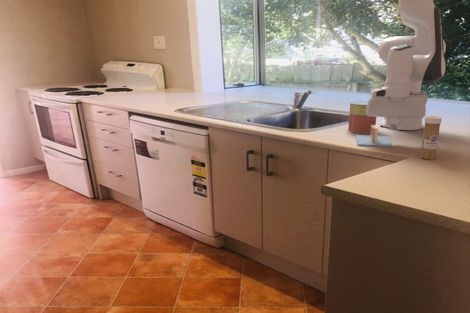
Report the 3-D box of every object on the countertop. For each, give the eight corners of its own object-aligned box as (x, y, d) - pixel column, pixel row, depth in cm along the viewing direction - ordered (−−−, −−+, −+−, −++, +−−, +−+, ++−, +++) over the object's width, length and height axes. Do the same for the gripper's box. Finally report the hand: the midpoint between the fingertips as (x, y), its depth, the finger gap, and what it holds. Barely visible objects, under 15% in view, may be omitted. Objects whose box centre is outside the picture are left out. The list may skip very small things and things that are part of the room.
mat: (355, 136, 150) (355, 134, 150) (387, 137, 147) (387, 136, 147) (357, 145, 135) (357, 144, 135) (392, 147, 132) (392, 145, 132)
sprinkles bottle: (426, 160, 117) (432, 118, 113) (416, 156, 121) (422, 115, 117) (439, 159, 117) (445, 117, 114) (429, 155, 122) (434, 115, 118)
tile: (369, 137, 145) (371, 125, 144) (374, 137, 145) (376, 125, 143) (371, 142, 138) (372, 129, 136) (376, 142, 137) (378, 129, 136)
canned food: (377, 129, 163) (380, 102, 159) (372, 134, 153) (375, 105, 150) (351, 127, 168) (353, 100, 165) (345, 131, 159) (346, 103, 156)
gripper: (426, 91, 135) (421, 128, 138) (367, 90, 140) (364, 126, 143) (430, 92, 129) (425, 131, 132) (368, 91, 134) (365, 129, 137)
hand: (393, 129), depth 138 cm, fingers closed
